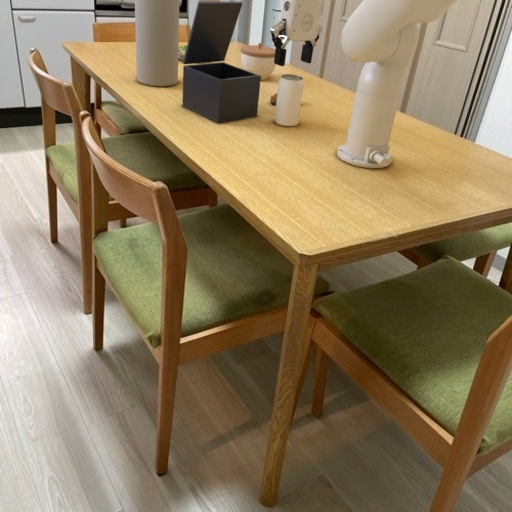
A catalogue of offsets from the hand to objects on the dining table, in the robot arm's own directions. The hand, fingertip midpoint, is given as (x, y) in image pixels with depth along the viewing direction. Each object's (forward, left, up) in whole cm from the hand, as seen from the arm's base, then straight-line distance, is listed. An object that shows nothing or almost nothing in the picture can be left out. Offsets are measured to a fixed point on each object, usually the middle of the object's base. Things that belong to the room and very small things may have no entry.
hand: (292, 63), depth 131 cm
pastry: (+17, -8, -15) cm, 24 cm away
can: (0, 0, -15) cm, 15 cm away
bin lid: (+15, +16, +4) cm, 22 cm away
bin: (+11, +15, -15) cm, 24 cm away
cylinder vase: (+41, +25, -15) cm, 50 cm away
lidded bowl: (+47, -11, -15) cm, 50 cm away
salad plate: (+75, +4, -15) cm, 76 cm away
